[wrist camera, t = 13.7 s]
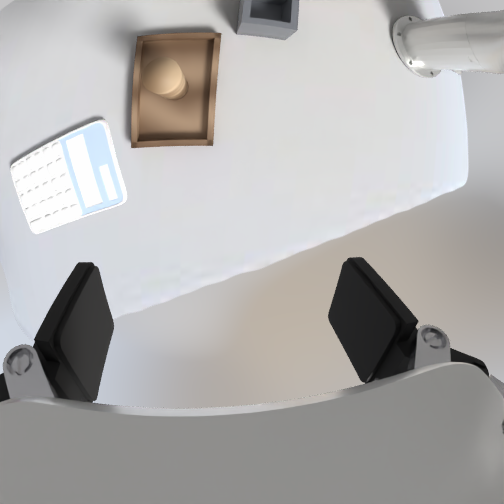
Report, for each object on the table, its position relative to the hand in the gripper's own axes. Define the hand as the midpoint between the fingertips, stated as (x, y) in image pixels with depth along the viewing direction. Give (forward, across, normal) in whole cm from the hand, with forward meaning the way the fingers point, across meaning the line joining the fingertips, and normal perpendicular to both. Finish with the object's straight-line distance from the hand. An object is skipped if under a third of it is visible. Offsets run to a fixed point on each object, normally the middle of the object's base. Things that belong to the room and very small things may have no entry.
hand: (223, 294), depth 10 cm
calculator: (+31, +23, +2) cm, 39 cm away
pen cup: (+30, -6, -22) cm, 38 cm away
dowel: (+30, +5, -10) cm, 32 cm away
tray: (+30, +5, -10) cm, 32 cm away
